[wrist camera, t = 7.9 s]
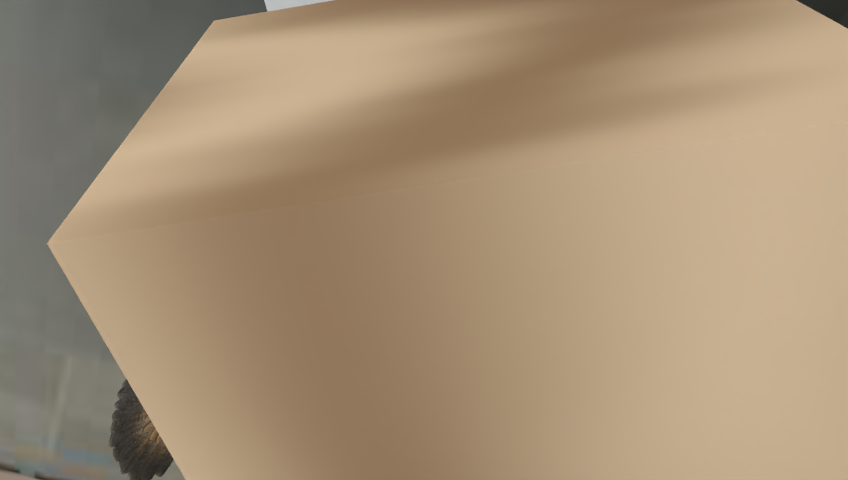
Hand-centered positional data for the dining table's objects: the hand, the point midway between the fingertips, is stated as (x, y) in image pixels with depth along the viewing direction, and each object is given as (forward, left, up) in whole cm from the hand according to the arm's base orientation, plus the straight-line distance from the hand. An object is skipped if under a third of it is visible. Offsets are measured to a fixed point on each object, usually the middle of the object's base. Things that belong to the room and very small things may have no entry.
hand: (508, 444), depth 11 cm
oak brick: (0, 0, -2) cm, 2 cm away
